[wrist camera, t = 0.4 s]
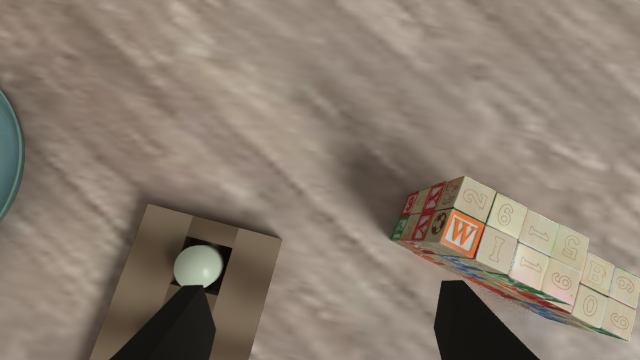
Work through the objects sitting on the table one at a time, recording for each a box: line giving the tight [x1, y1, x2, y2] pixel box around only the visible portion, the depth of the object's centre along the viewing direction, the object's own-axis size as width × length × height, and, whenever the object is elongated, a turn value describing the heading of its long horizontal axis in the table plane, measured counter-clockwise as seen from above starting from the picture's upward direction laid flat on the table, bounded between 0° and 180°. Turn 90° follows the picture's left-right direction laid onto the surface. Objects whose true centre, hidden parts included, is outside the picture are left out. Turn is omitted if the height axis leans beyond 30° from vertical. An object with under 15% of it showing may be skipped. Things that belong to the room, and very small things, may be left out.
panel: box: [89, 204, 282, 360], centre depth 31 cm, size 24×14×3 cm, turn 165°
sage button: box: [174, 245, 224, 288], centre depth 31 cm, size 4×4×3 cm
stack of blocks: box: [391, 176, 640, 341], centre depth 32 cm, size 21×6×12 cm, turn 64°
